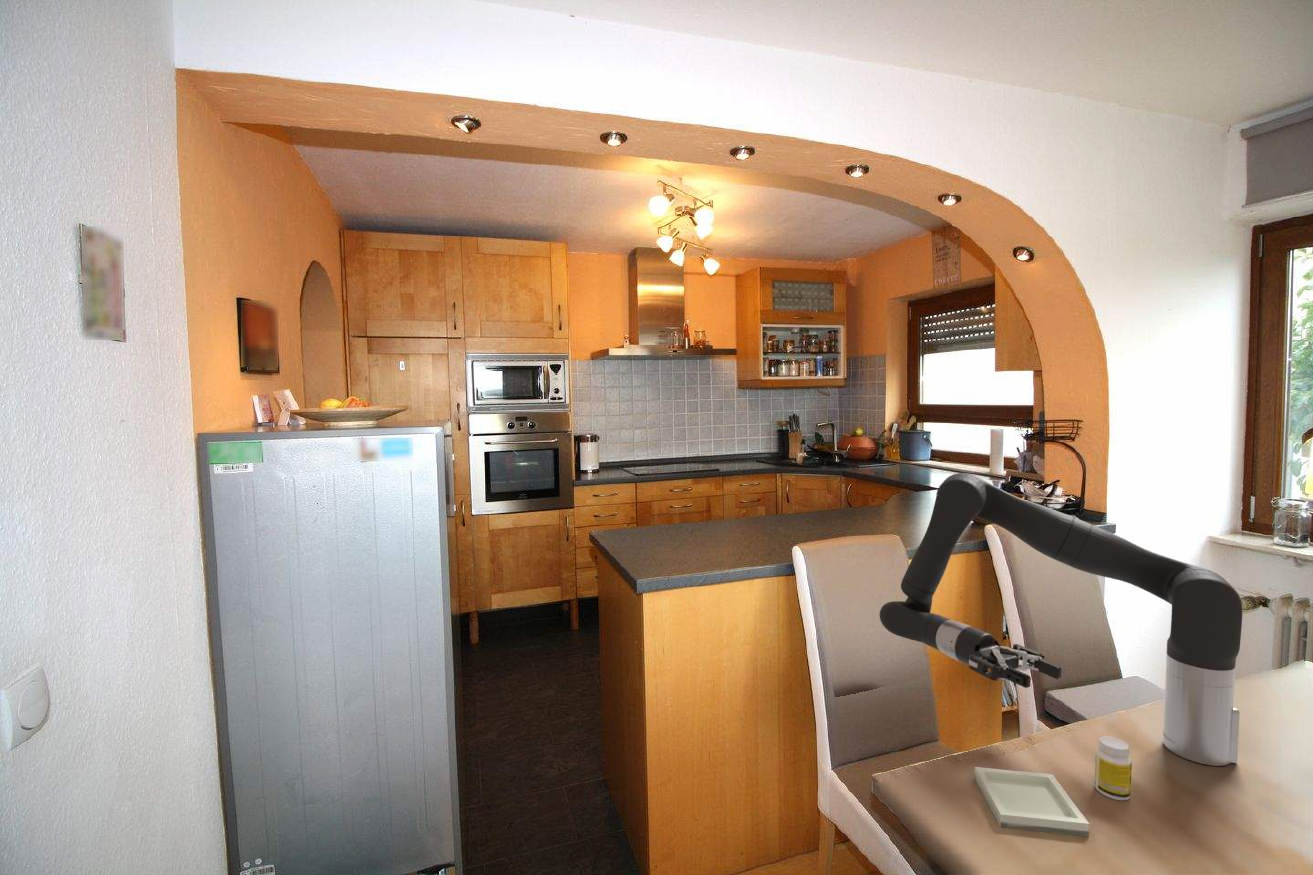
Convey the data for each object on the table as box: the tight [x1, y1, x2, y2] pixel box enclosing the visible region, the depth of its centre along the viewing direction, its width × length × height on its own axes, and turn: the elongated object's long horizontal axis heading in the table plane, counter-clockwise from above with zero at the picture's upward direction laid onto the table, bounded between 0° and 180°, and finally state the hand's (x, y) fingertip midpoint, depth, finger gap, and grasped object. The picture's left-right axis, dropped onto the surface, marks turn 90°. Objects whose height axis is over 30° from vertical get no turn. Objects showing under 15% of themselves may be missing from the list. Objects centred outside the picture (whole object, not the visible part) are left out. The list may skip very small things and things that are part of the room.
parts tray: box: [974, 766, 1090, 838], centre depth 96 cm, size 12×12×2 cm
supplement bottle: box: [1094, 735, 1133, 801], centre depth 99 cm, size 5×5×8 cm
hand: (1044, 677), depth 109 cm, fingers open, 8 cm apart
